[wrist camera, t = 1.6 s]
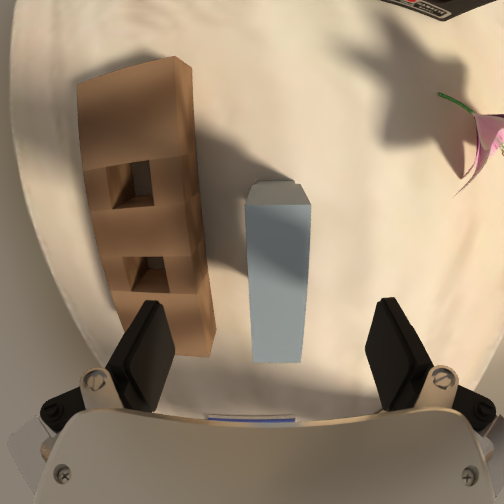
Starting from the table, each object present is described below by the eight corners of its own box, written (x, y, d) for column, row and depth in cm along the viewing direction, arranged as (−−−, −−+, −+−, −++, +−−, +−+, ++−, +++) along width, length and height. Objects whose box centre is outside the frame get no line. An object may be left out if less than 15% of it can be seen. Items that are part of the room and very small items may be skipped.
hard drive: (295, 420, 32) (207, 420, 34) (294, 443, 36) (218, 442, 37) (295, 412, 34) (209, 411, 35) (294, 435, 37) (219, 435, 39)
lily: (397, 180, 21) (481, 249, 14) (395, 44, 12) (524, 86, 6) (464, 149, 22) (530, 197, 15) (470, 48, 13) (555, 86, 7)
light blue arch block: (293, 287, 24) (300, 362, 16) (259, 288, 25) (253, 362, 17) (295, 174, 20) (311, 204, 12) (255, 174, 21) (244, 205, 12)
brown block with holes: (216, 329, 27) (208, 357, 24) (145, 324, 28) (131, 349, 24) (191, 67, 17) (174, 55, 14) (104, 88, 18) (77, 84, 14)
